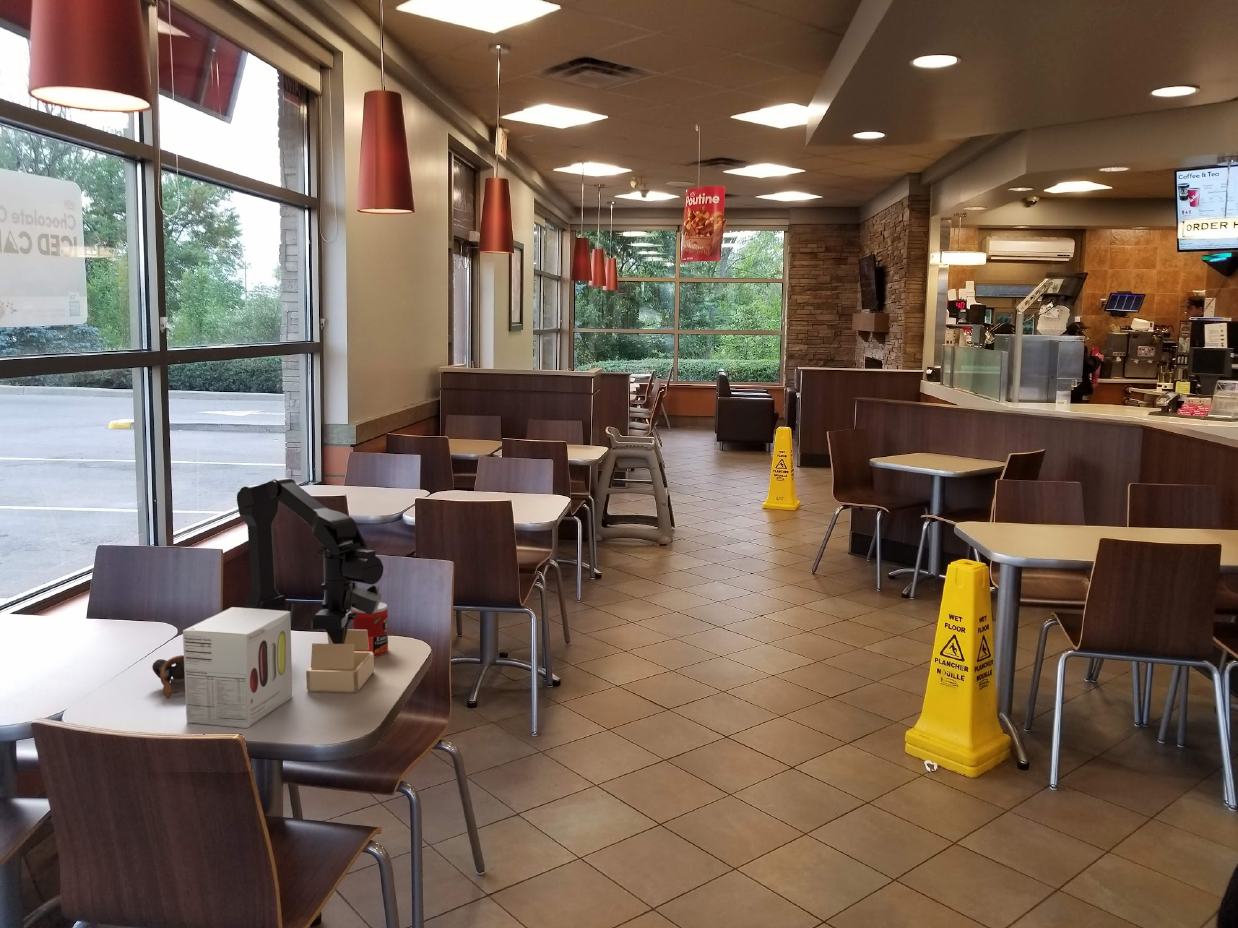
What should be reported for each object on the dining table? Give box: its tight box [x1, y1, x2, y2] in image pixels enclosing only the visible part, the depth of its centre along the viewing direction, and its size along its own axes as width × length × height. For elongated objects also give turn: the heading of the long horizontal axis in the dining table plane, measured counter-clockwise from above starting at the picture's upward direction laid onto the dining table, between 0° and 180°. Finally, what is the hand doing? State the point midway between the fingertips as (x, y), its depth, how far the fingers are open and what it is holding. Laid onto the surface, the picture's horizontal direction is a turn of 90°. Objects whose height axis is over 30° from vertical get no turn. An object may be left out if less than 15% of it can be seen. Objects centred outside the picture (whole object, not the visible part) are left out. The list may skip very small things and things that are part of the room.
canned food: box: [351, 601, 389, 657], centre depth 227 cm, size 8×8×11 cm
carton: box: [305, 651, 375, 694], centre depth 208 cm, size 11×13×4 cm
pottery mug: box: [151, 654, 185, 699], centre depth 202 cm, size 12×10×8 cm
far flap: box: [326, 628, 369, 650], centre depth 213 cm, size 9×5×1 cm
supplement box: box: [182, 606, 293, 729], centre depth 191 cm, size 17×13×18 cm
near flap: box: [310, 642, 354, 669], centre depth 202 cm, size 9×5×1 cm
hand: (339, 650), depth 207 cm, fingers closed
